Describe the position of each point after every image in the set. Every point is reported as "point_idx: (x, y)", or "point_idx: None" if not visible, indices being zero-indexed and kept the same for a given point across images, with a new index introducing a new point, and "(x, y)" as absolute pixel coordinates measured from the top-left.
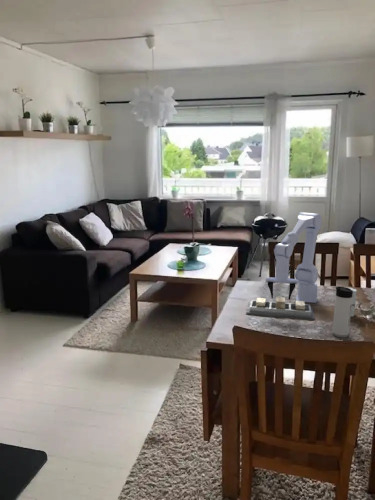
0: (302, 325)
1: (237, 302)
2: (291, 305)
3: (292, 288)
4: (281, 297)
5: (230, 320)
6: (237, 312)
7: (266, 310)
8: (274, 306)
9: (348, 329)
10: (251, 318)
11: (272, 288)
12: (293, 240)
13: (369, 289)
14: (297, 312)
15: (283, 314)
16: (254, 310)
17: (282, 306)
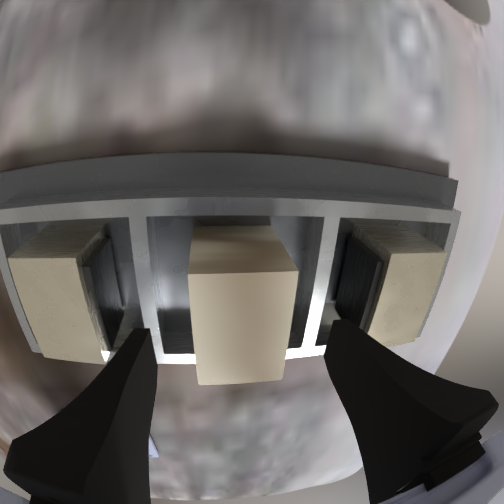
0: (68, 38)
1: (440, 332)
2: None
3: (51, 439)
4: (231, 382)
5: (498, 88)
6: (475, 199)
7: (354, 197)
8: None
9: None
10: (429, 106)
11: (416, 394)
12: None
13: None
14: (77, 198)
15: (201, 173)
16: (423, 201)
17: (215, 248)
